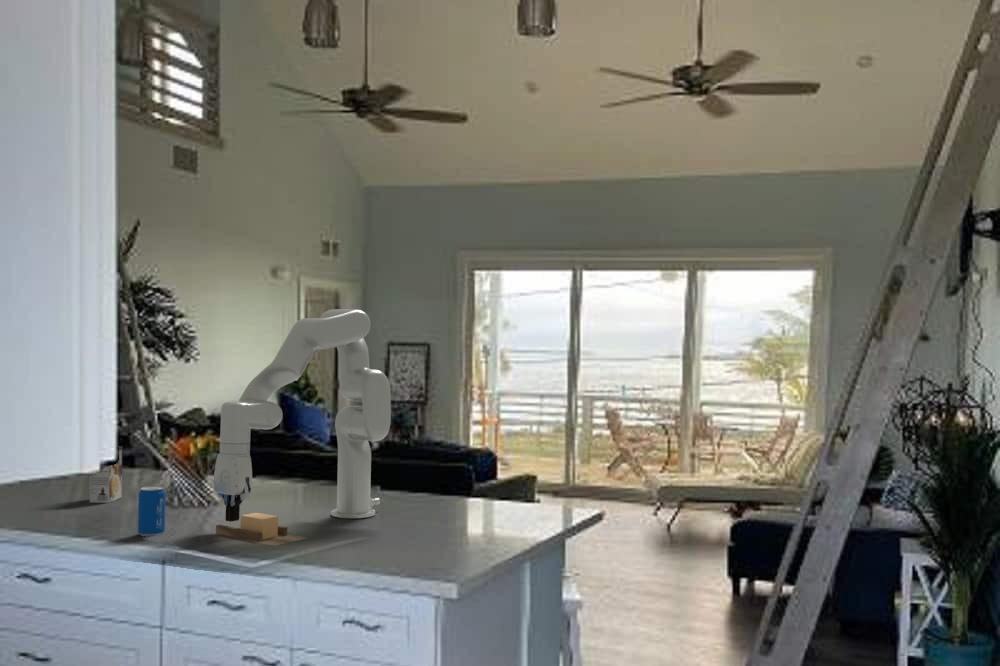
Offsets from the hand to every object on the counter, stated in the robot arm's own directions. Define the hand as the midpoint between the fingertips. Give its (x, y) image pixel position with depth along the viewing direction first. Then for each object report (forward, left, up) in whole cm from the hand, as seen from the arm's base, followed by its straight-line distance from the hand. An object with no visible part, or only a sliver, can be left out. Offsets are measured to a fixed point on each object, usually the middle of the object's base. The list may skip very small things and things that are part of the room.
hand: (232, 520), depth 245 cm
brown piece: (0, +10, -4) cm, 10 cm away
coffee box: (-9, -68, -4) cm, 69 cm away
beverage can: (+13, -16, -4) cm, 21 cm away
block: (0, +10, -3) cm, 10 cm away
